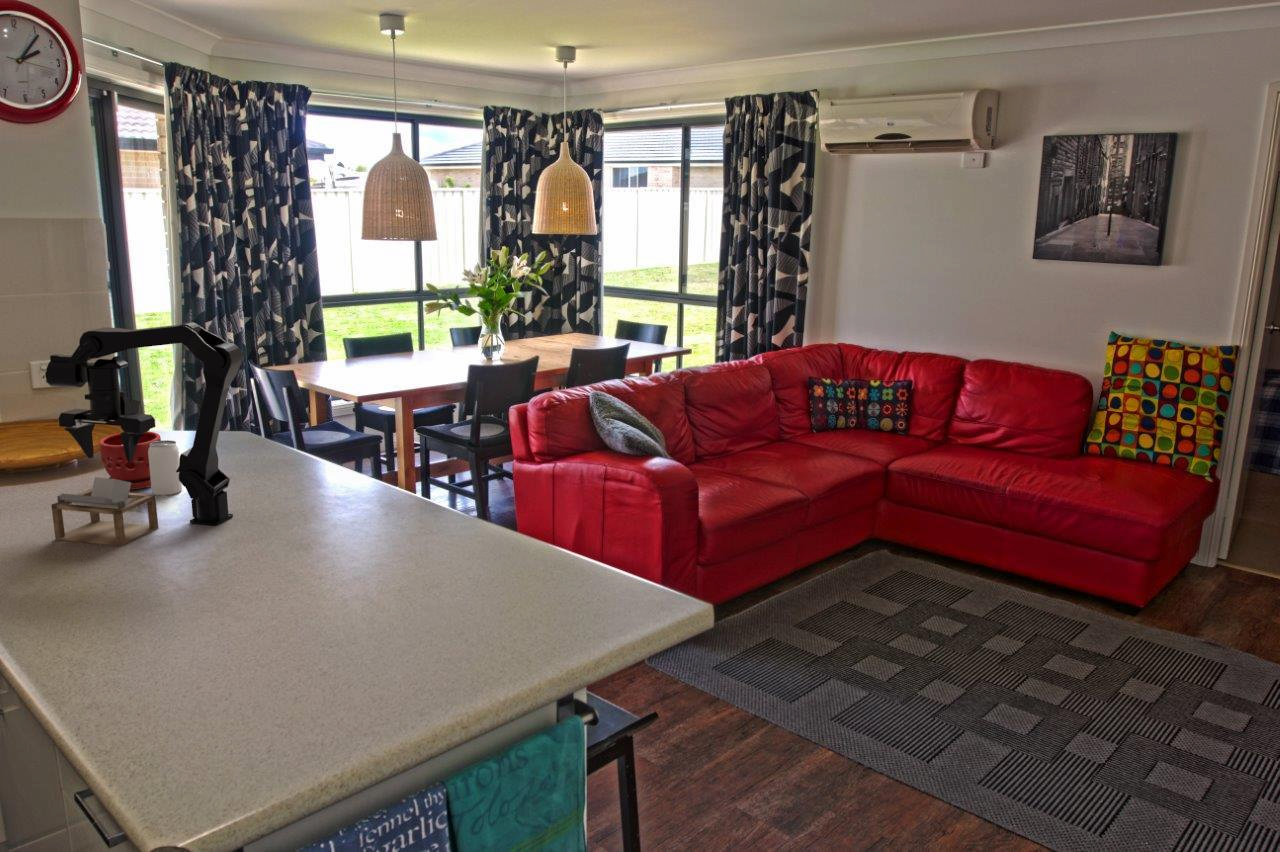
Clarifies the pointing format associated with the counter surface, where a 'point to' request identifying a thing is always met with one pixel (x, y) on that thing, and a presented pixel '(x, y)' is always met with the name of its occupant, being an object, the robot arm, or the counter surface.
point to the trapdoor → (93, 501)
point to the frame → (104, 530)
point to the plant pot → (119, 465)
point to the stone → (111, 489)
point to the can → (164, 468)
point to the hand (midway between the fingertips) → (110, 459)
